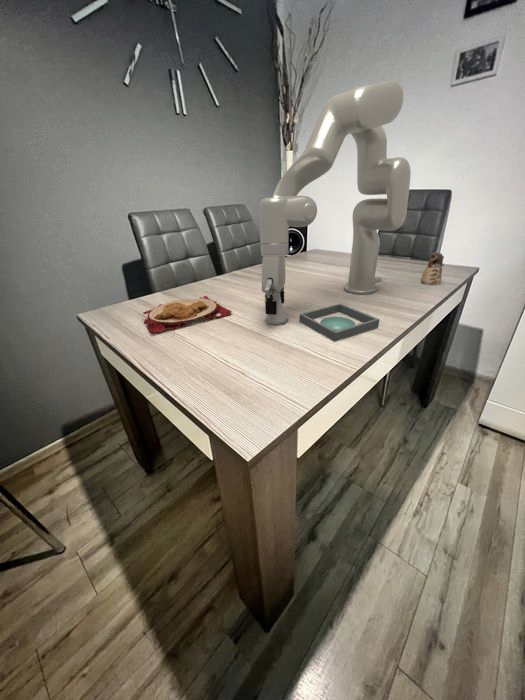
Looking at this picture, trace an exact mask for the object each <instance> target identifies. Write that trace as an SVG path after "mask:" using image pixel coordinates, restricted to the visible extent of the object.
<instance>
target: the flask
mask: <svg viewBox="0 0 525 700" xmlns="http://www.w3.org/2000/svg"><path fill="white" fill-rule="evenodd" d="M280 292H281V290H280V291H279V292H278V293H276V300H275V301H277V314H276V315H270V314H266V316H265V319H264V321H265V323H266V324H267V325H275V326H279V325H284V324H286V323H288V321H289V318H288V316H287V314H286V310H285V308H284V305H283V304H282V302H281V297H280ZM272 296H273V294H272Z"/></svg>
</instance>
